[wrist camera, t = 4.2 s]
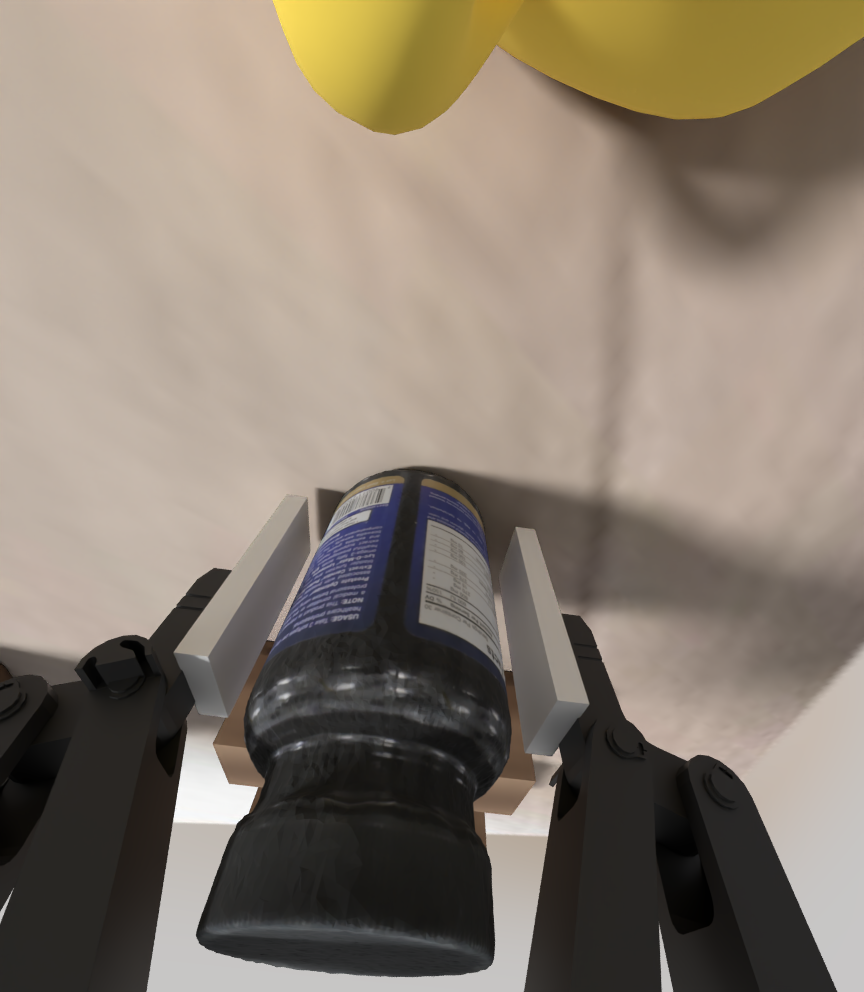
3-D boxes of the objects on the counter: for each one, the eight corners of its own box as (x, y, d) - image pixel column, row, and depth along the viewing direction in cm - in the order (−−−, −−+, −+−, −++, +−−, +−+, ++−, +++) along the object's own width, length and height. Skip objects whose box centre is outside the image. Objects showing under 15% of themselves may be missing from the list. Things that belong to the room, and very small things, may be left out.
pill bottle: (344, 576, 17) (207, 969, 7) (327, 458, 13) (44, 898, 4) (477, 584, 17) (510, 993, 7) (494, 466, 13) (595, 942, 4)
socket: (264, 640, 20) (212, 743, 15) (518, 672, 20) (535, 781, 16) (285, 755, 27) (254, 845, 23) (469, 776, 28) (472, 868, 23)
